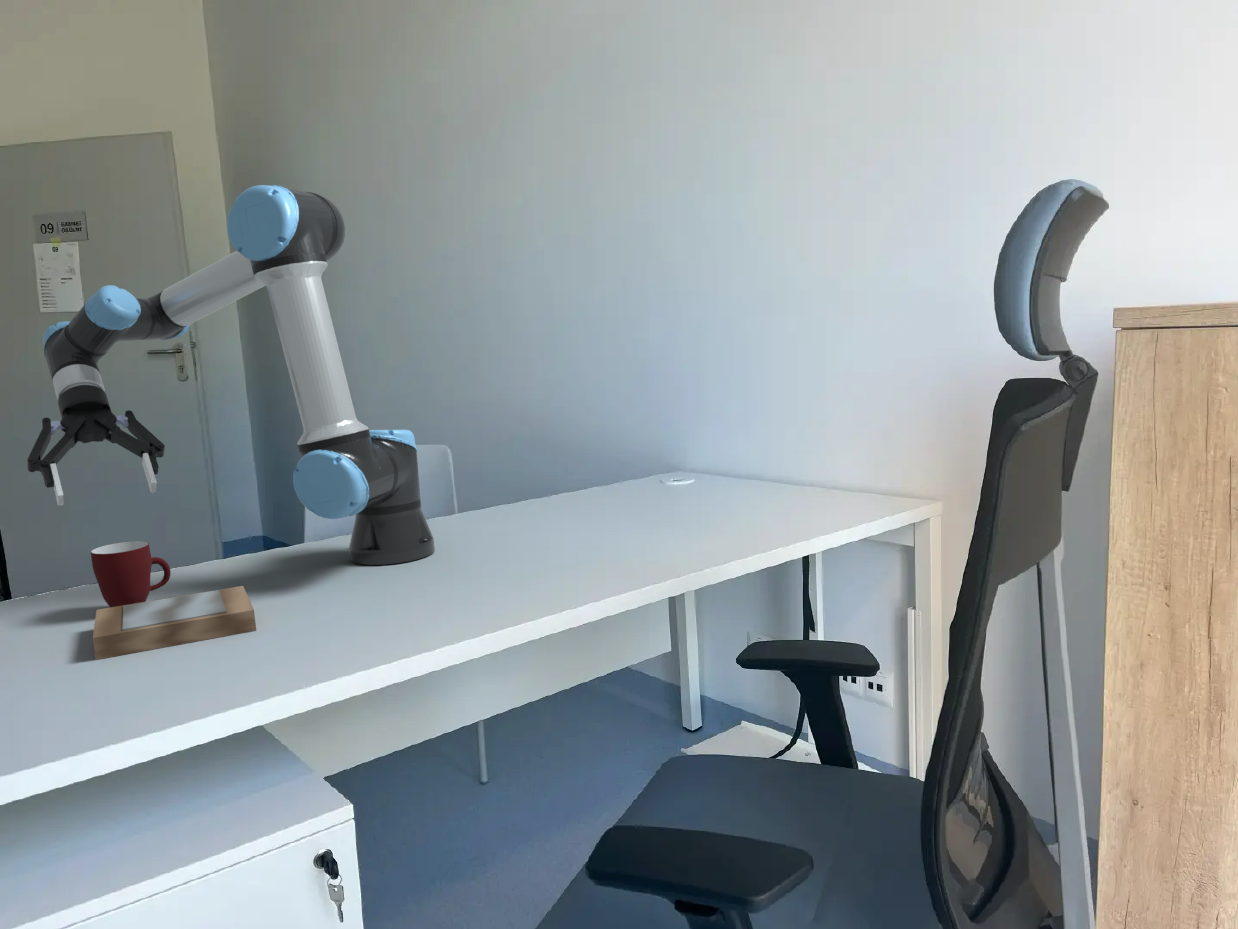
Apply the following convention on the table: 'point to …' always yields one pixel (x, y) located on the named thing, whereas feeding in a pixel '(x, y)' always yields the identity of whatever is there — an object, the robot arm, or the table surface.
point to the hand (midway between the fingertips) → (108, 494)
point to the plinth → (172, 621)
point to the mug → (126, 572)
